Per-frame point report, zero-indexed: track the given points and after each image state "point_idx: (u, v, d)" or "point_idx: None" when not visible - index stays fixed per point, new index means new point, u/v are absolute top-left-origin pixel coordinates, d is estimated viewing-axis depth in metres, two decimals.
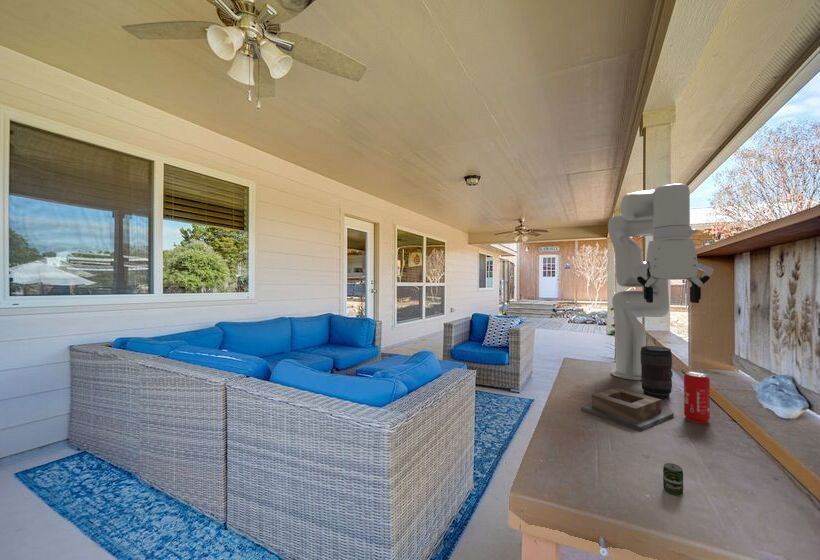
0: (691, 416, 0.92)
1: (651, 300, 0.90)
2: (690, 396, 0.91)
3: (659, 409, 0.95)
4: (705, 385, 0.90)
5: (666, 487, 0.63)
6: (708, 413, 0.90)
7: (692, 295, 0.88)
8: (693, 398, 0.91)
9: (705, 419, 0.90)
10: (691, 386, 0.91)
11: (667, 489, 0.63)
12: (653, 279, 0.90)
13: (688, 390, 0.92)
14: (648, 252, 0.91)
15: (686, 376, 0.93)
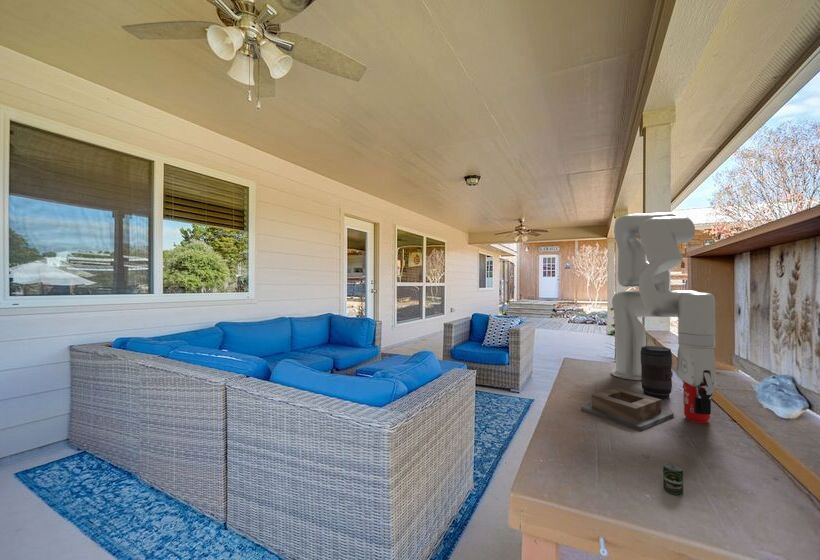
0: (691, 416, 0.92)
1: None
2: (690, 396, 0.91)
3: (659, 409, 0.95)
4: None
5: (666, 487, 0.63)
6: None
7: None
8: (693, 398, 0.91)
9: (705, 419, 0.90)
10: (691, 386, 0.91)
11: (667, 489, 0.63)
12: None
13: (688, 390, 0.92)
14: (705, 360, 0.88)
15: None
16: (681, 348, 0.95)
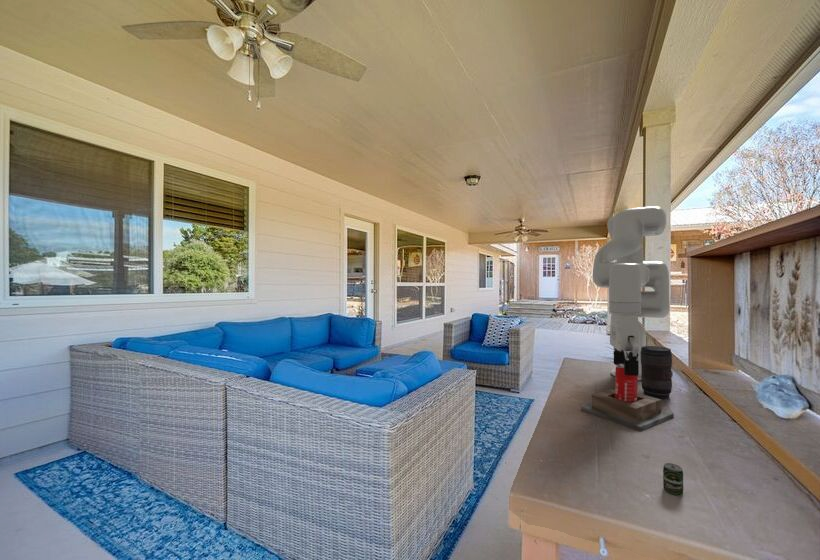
0: None
1: None
2: (619, 386, 0.97)
3: (659, 409, 0.95)
4: (632, 376, 0.95)
5: (666, 487, 0.63)
6: None
7: (620, 359, 1.02)
8: (621, 388, 0.96)
9: None
10: (620, 377, 0.97)
11: (667, 489, 0.63)
12: None
13: (618, 381, 0.97)
14: (630, 326, 0.93)
15: (617, 367, 0.98)
16: (612, 317, 1.00)
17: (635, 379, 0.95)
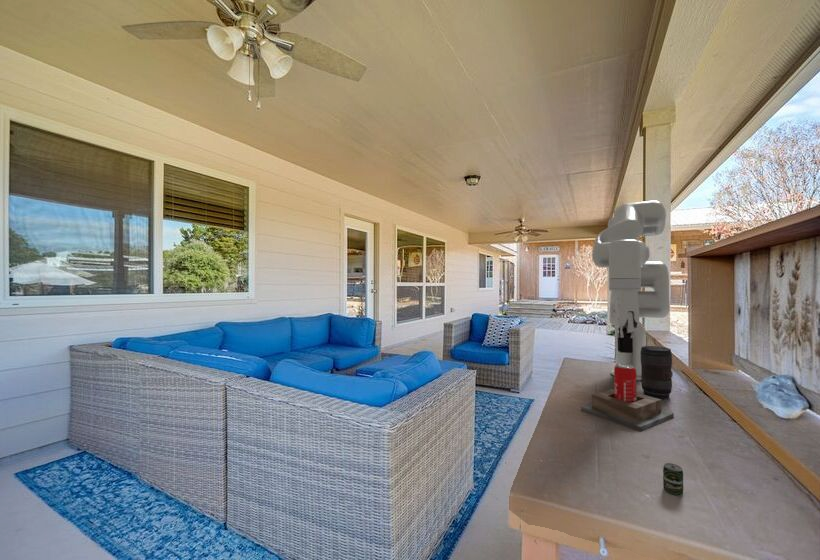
0: None
1: None
2: (618, 386, 0.97)
3: (659, 409, 0.95)
4: (631, 376, 0.95)
5: (666, 487, 0.63)
6: None
7: None
8: (620, 388, 0.96)
9: None
10: (618, 377, 0.97)
11: (667, 489, 0.63)
12: None
13: (617, 381, 0.97)
14: (629, 302, 0.93)
15: (615, 368, 0.98)
16: (611, 295, 1.00)
17: (634, 379, 0.96)
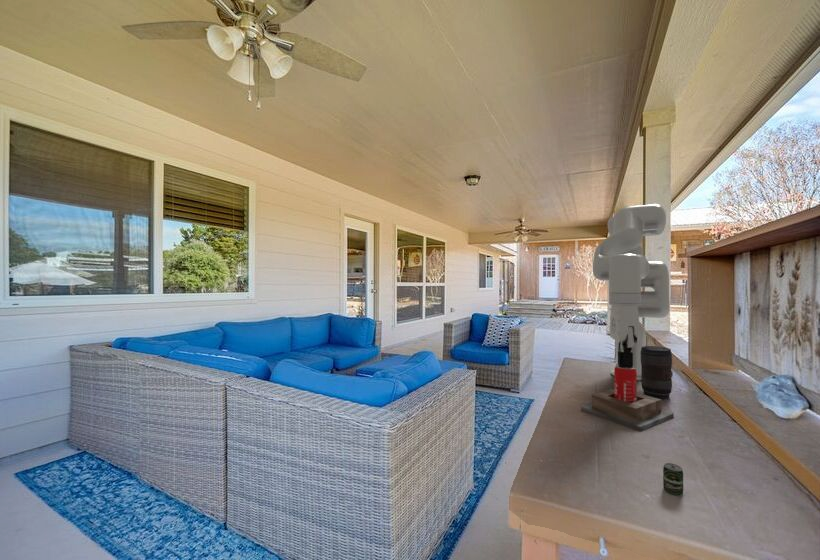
0: None
1: None
2: (618, 387, 0.97)
3: (659, 409, 0.95)
4: (631, 376, 0.95)
5: (666, 487, 0.63)
6: None
7: None
8: (620, 388, 0.96)
9: None
10: (619, 377, 0.96)
11: (667, 489, 0.63)
12: None
13: (617, 381, 0.97)
14: (629, 317, 0.93)
15: (615, 368, 0.98)
16: (612, 309, 1.00)
17: (634, 379, 0.95)
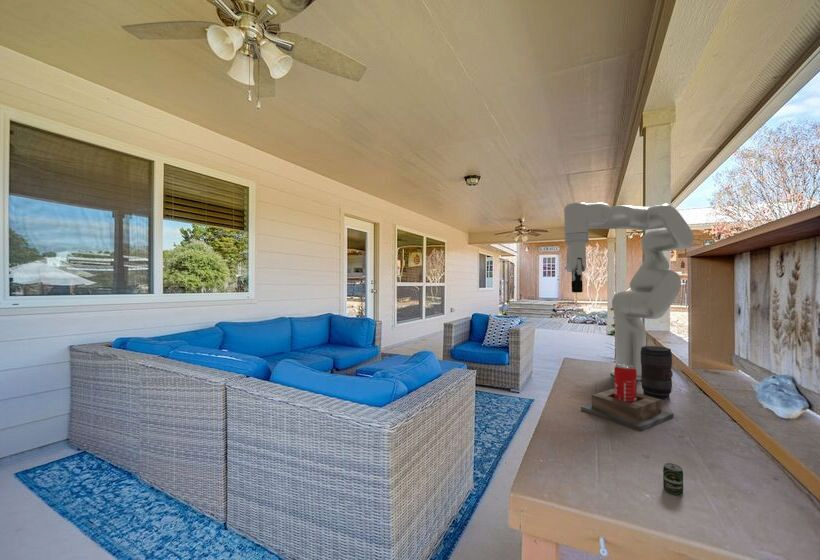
0: None
1: None
2: (618, 387, 0.97)
3: (659, 409, 0.95)
4: (631, 376, 0.95)
5: (666, 487, 0.63)
6: None
7: None
8: (620, 388, 0.96)
9: None
10: (619, 377, 0.97)
11: (667, 489, 0.63)
12: None
13: (617, 381, 0.97)
14: (578, 250, 1.18)
15: (615, 368, 0.98)
16: (567, 248, 1.25)
17: (634, 379, 0.95)
